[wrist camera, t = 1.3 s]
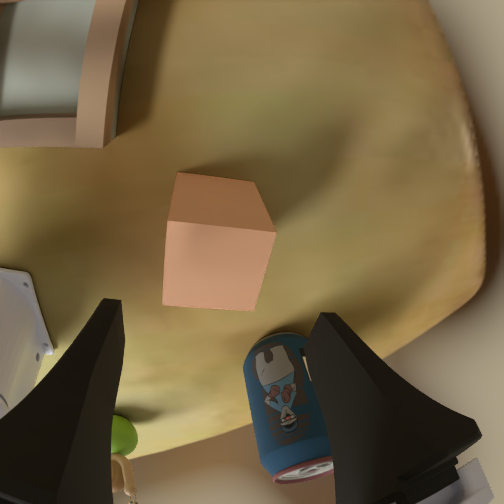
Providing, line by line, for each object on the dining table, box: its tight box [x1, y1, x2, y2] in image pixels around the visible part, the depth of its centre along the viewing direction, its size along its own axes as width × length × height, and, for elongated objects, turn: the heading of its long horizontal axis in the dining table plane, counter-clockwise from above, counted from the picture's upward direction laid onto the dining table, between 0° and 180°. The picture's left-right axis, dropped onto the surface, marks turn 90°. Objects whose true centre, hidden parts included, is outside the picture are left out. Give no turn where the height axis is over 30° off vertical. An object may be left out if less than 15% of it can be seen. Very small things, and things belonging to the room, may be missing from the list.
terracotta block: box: [162, 172, 277, 311], centre depth 16 cm, size 4×4×6 cm
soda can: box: [243, 332, 334, 484], centre depth 22 cm, size 7×7×12 cm
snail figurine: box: [111, 415, 138, 504], centre depth 26 cm, size 5×6×12 cm
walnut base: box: [0, 0, 139, 148], centre depth 10 cm, size 10×10×2 cm
